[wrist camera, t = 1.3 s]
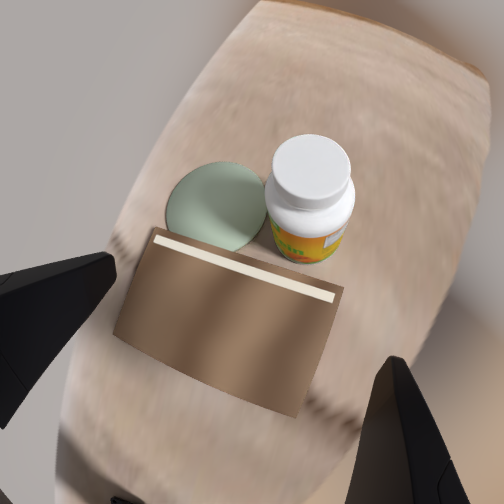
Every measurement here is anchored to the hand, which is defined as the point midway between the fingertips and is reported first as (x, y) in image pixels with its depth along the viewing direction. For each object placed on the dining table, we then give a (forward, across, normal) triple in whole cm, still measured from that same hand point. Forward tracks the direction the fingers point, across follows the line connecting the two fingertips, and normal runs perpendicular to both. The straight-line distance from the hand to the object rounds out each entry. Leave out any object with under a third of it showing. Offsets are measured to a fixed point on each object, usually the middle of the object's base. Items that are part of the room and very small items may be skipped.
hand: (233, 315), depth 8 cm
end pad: (+15, +8, +4) cm, 18 cm away
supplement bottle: (+15, 0, +4) cm, 16 cm away
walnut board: (+9, +4, +10) cm, 14 cm away
